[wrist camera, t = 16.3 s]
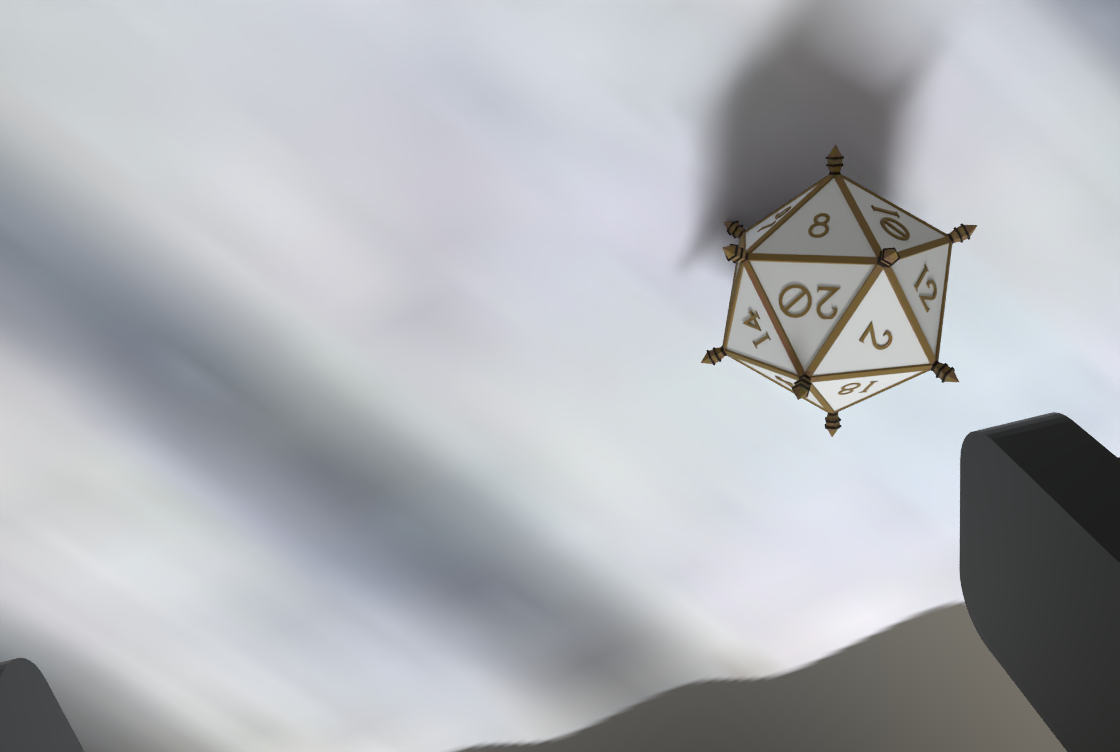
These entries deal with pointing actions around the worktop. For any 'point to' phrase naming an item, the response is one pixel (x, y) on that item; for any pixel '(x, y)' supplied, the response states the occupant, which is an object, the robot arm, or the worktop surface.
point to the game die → (838, 295)
